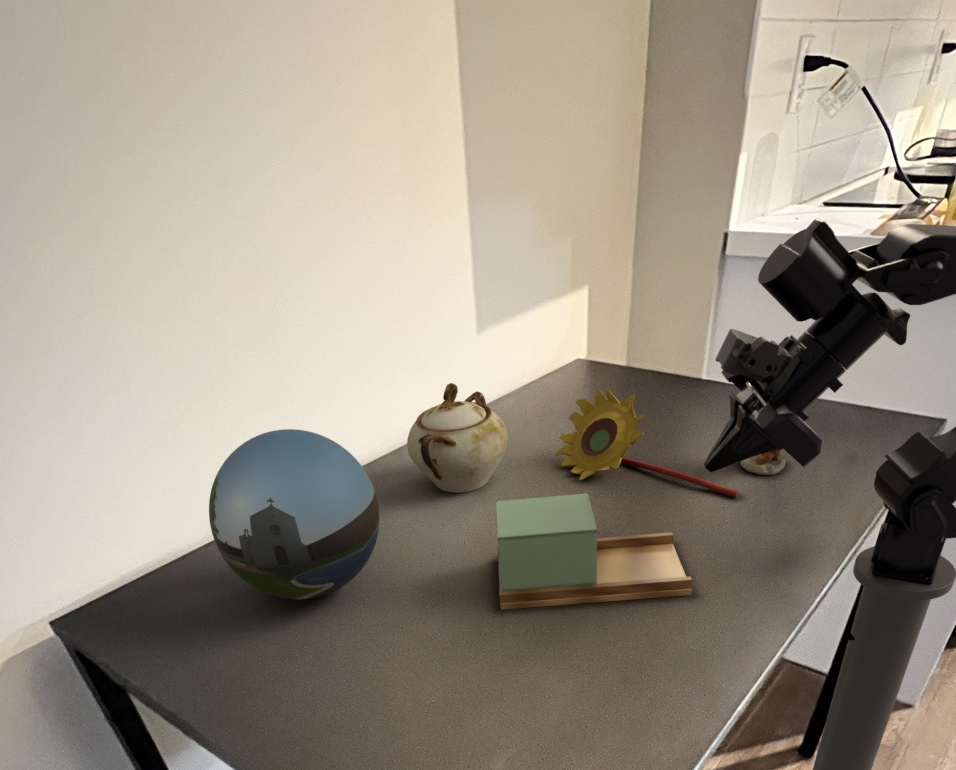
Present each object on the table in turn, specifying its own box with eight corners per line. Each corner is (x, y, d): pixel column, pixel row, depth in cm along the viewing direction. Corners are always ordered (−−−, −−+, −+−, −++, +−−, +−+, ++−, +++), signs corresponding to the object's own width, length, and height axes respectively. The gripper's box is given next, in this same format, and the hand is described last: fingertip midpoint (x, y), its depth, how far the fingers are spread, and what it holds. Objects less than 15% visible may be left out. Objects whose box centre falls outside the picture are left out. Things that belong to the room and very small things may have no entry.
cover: (587, 551, 93) (587, 493, 88) (596, 589, 87) (597, 529, 82) (500, 558, 94) (495, 501, 89) (502, 597, 87) (497, 537, 82)
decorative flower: (701, 523, 98) (535, 465, 116) (730, 523, 104) (568, 467, 122) (737, 419, 93) (557, 374, 111) (765, 425, 99) (590, 381, 117)
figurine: (749, 452, 113) (764, 349, 103) (800, 461, 109) (821, 355, 100) (726, 476, 108) (740, 370, 98) (779, 486, 104) (798, 376, 94)
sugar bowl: (478, 516, 105) (467, 411, 96) (388, 504, 111) (369, 403, 102) (530, 459, 119) (525, 362, 109) (447, 451, 124) (436, 358, 115)
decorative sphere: (353, 640, 85) (312, 476, 72) (208, 624, 90) (146, 469, 78) (414, 553, 99) (388, 403, 86) (285, 543, 104) (243, 401, 92)
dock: (670, 545, 94) (672, 531, 93) (691, 595, 85) (692, 580, 84) (498, 559, 96) (497, 545, 94) (500, 609, 87) (499, 595, 86)
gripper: (748, 277, 79) (642, 395, 87) (803, 322, 64) (670, 459, 72) (814, 344, 83) (707, 452, 91) (880, 401, 68) (746, 523, 76)
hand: (706, 468), depth 82 cm, fingers closed
